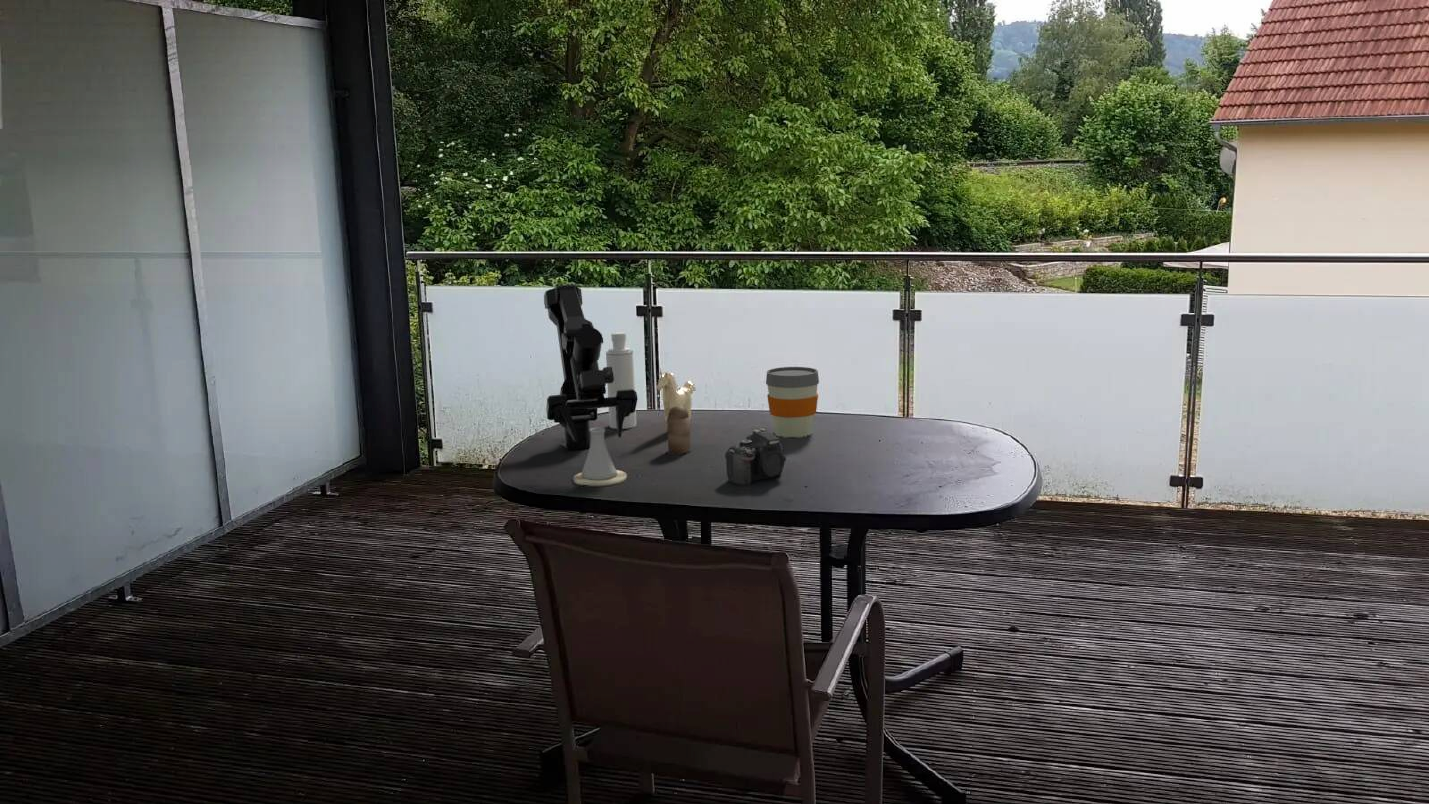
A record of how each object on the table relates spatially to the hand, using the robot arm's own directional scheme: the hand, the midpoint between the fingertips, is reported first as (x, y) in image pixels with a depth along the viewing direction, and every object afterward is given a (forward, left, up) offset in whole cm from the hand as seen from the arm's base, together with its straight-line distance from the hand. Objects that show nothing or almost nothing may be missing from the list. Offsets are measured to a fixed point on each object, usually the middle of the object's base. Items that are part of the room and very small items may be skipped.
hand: (597, 438), depth 236 cm
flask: (0, 0, -8) cm, 8 cm away
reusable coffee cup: (-20, +52, -9) cm, 56 cm away
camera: (+14, +30, -9) cm, 34 cm away
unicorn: (-35, +28, -9) cm, 45 cm away
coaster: (0, 0, -9) cm, 9 cm away
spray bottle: (-46, +17, -9) cm, 50 cm away
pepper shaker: (-15, +22, -9) cm, 28 cm away
